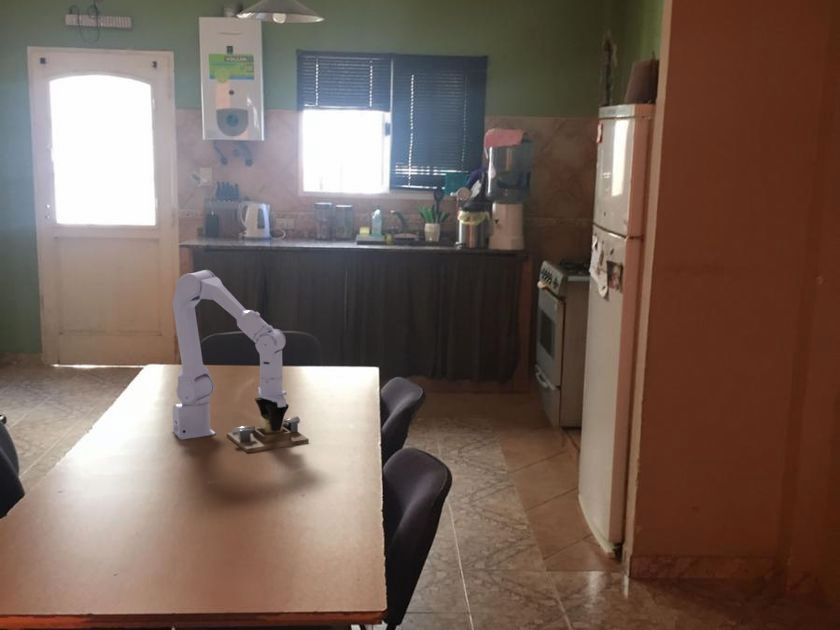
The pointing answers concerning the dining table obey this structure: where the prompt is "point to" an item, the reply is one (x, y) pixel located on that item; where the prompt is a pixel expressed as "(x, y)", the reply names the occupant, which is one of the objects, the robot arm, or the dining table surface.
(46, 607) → the dining table surface
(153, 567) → the dining table surface
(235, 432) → the shaft left
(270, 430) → the block
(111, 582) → the dining table surface
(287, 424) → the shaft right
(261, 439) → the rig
